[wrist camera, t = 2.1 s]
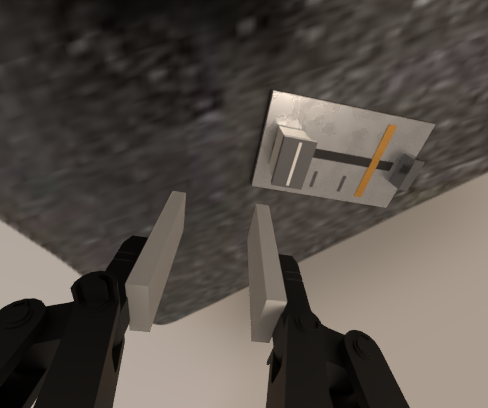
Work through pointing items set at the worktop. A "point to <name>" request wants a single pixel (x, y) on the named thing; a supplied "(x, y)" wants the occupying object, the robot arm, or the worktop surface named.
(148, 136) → the worktop surface
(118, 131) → the worktop surface
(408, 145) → the panel
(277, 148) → the fader
